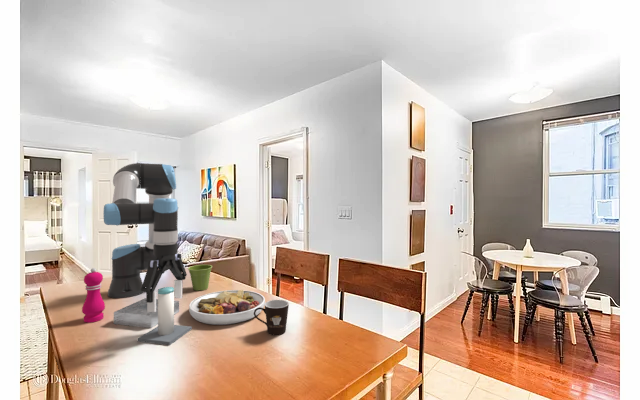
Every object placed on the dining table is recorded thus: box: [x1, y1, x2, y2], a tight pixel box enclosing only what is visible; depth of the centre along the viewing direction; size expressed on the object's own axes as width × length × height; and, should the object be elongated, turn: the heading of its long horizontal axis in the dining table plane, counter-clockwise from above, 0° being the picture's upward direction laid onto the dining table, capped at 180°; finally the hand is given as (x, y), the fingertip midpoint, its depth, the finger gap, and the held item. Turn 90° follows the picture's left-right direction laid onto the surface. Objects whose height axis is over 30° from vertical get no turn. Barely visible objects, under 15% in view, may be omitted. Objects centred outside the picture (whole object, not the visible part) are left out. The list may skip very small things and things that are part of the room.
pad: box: [137, 324, 193, 346], centre depth 109 cm, size 12×12×1 cm
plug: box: [157, 286, 175, 335], centre depth 109 cm, size 5×5×15 cm
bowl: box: [188, 289, 266, 326], centre depth 130 cm, size 30×30×8 cm
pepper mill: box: [81, 267, 106, 324], centre depth 121 cm, size 7×7×20 cm
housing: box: [113, 297, 180, 329], centre depth 124 cm, size 16×16×4 cm
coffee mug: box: [254, 299, 290, 336], centre depth 113 cm, size 12×9×10 cm
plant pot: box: [187, 264, 213, 292], centre depth 161 cm, size 12×12×11 cm
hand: (165, 304), depth 108 cm, fingers open, 13 cm apart
